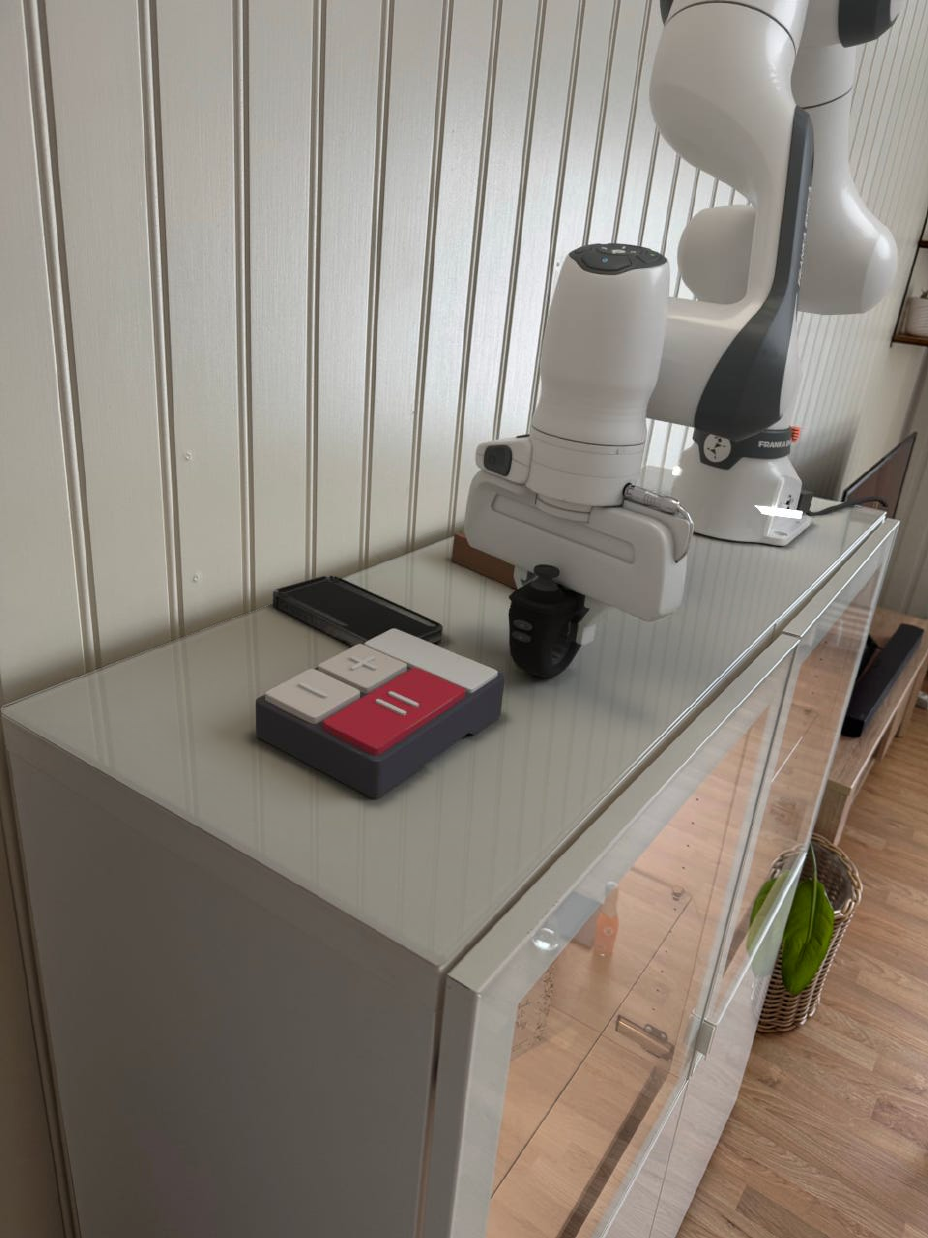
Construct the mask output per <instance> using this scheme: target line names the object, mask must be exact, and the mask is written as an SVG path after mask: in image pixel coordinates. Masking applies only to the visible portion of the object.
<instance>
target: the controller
mask: <svg viewBox="0 0 928 1238" xmlns="http://www.w3.org/2000/svg"><path fill="white" fill-rule="evenodd" d="M533 571H534V573H535V574H536V575H537V576H539V578H537V579H535V580H533V581H531V582H529V583H528V584H526V585H524V586H523V587H521V588H519V589H515V590H514V591H512V592H511V593H510V594H509V596H508V599H509V600H510V605H509V609H508V628H509V629H508V630H509V631H508V633H509V634H508V637H509V638H508V641H509V642H508V643H509V645H508V646H509V654H510V657H511V659H512V661H513V663H514V665H516V667H518V668H519V669H520V670H521V671H523V672H525V673H527V674H530V675H532V676H535V677H538V678H543V679H551V678H554V677H557V676H559V675H561V674H562V673H563V672H564V671H566V670H567V668H568V667H569V666H570V665H571V664H572V662H573V661H574V659H575V657H576V656H577V655H578V652H579V651H580V649H581V647H582V645H580V644H578V643H576V642H573V641H571V640H569V639H568V638H567V634H568V632H570V631H569V623H570V621H571V620H574V619H578V618H579V617H582V616H585V614H586V613H587V612H588V611H589V609H590V608H589V609H588V608H585V607H584V601H585V595H583V594H581V593H579V592H576V591H574V590H571V589H569V588H567V587H564V586H562V585H560V584H557V583H555V582H554V581H553V580H552V579H553V578H556V577H558V576H559V574H560V571H559V569H558V568H557V567H554V566H552V565H546V564H539V565H536V566H535V567H534V570H533Z"/></svg>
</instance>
